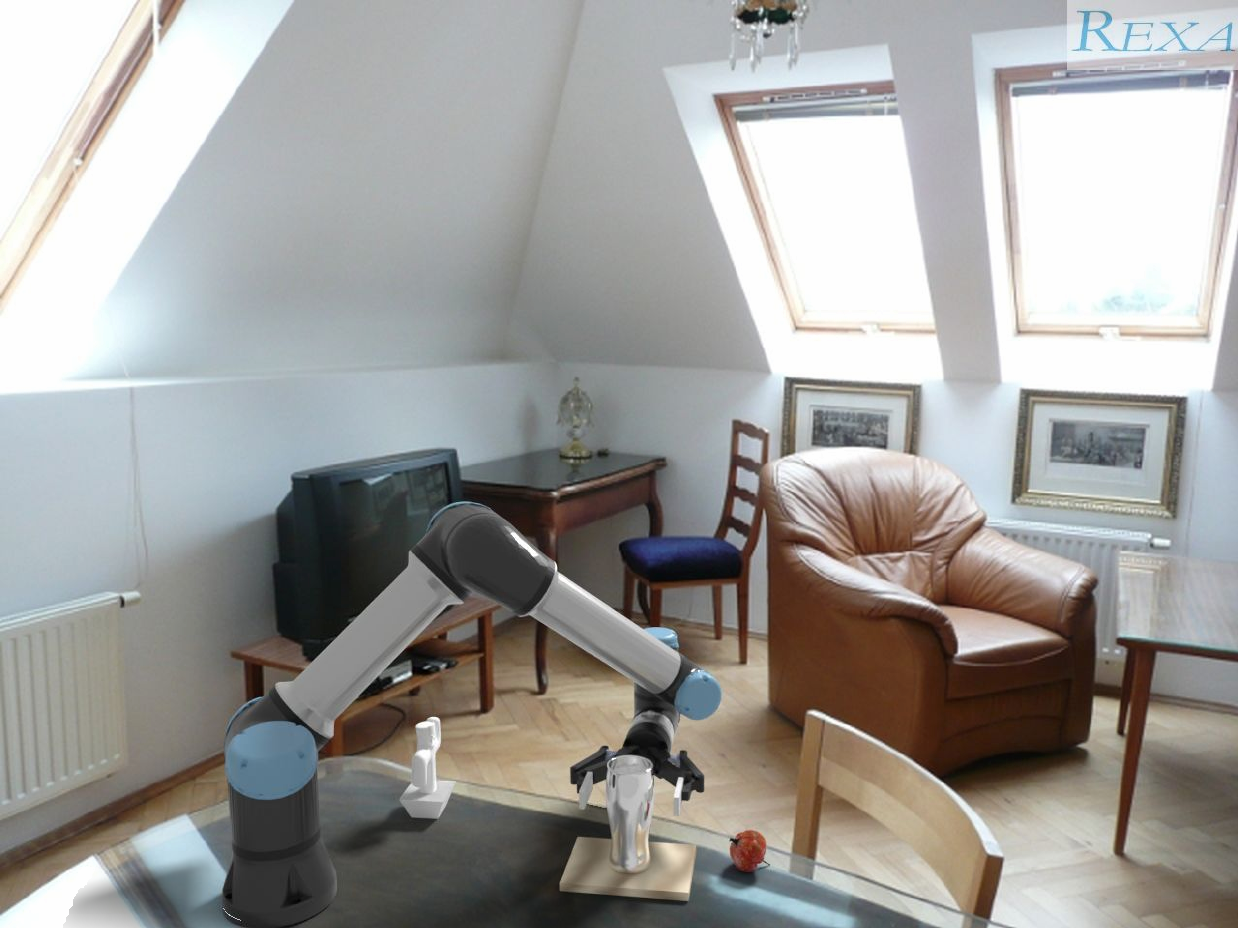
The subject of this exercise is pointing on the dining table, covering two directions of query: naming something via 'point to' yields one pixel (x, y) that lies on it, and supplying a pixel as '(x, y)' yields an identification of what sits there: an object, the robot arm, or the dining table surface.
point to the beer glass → (629, 811)
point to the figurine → (426, 775)
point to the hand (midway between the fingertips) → (628, 803)
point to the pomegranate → (748, 850)
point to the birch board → (658, 881)
